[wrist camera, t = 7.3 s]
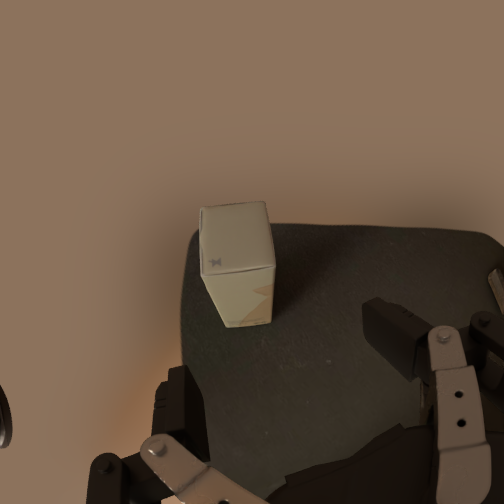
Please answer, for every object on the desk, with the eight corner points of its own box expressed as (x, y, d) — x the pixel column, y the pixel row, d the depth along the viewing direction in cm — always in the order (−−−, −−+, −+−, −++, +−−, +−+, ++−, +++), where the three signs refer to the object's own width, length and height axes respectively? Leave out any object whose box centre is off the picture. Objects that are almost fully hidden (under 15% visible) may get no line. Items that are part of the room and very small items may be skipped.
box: (272, 323, 24) (278, 272, 15) (225, 328, 24) (198, 281, 14) (265, 272, 27) (265, 197, 17) (221, 276, 27) (198, 204, 17)
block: (498, 317, 22) (506, 312, 20) (483, 276, 25) (491, 269, 23) (510, 309, 22) (518, 304, 21) (496, 270, 25) (504, 264, 24)
